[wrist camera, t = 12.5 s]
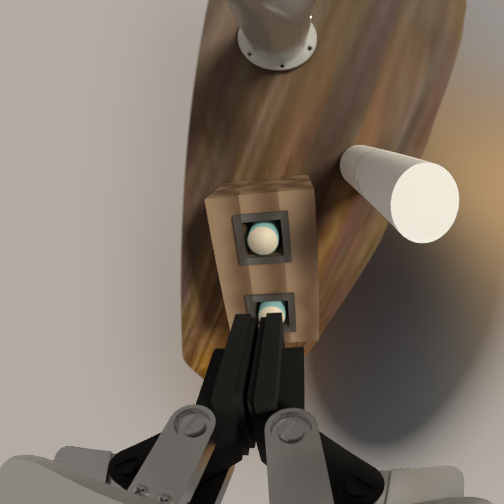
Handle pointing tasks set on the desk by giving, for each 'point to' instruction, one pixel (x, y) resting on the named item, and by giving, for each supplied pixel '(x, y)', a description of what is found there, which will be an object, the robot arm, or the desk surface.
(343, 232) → the desk surface
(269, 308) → the peg
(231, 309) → the walnut block
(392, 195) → the cylindrical container
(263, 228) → the peg
